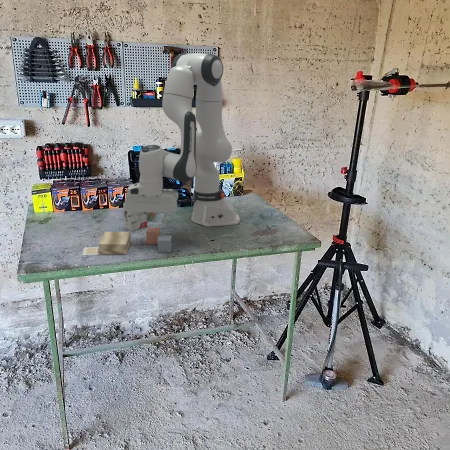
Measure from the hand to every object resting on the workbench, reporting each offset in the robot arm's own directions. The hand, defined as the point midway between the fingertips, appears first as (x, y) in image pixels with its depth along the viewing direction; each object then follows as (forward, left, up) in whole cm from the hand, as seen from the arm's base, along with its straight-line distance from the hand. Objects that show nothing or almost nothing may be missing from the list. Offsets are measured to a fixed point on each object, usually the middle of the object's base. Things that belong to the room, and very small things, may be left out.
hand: (151, 222), depth 163 cm
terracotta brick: (-1, -1, -9) cm, 9 cm away
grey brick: (-6, +7, -9) cm, 13 cm away
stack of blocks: (+4, -35, -9) cm, 36 cm away
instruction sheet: (+20, +8, -8) cm, 24 cm away
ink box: (+8, -16, -9) cm, 20 cm away
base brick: (+13, +5, -8) cm, 17 cm away
